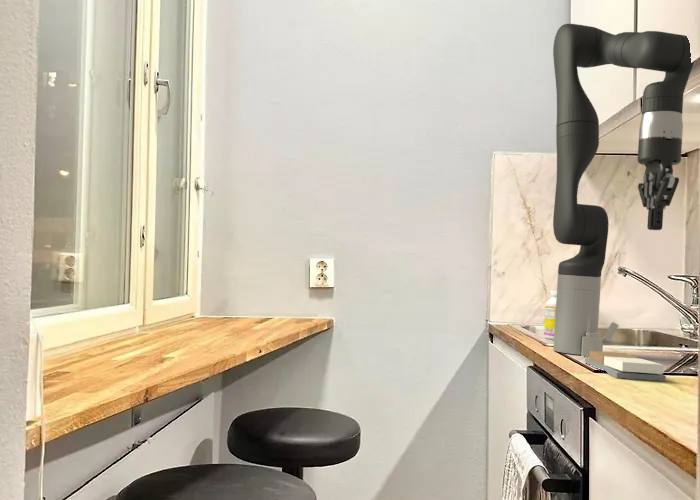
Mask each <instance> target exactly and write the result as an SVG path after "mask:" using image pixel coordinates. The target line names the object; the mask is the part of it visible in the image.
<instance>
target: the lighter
mask: <svg viewBox="0 0 700 500" xmlns="http://www.w3.org/2000/svg"><path fill="white" fill-rule="evenodd" d="M619 327H620V326H619V324H617V323H616V322H614V321H612V322H611V323H610V325H609V327H608V328H607V330H606V331H605V333H604V335H603V337H599V332H598V333H587V334H586V337H584V336H582V350H581V355H580V357H581V356H585V357H589V355H590V351H601V352H603V350H604V349H603V348H604V347H603V346H604V341H606V342H608V343H609V342H611V339H612V338H613V337H614V335H615V333H616V331H617V329H618V328H619ZM585 357H584V358H585Z"/></svg>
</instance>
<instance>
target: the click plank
mask: <svg viewBox="0 0 700 500" xmlns="http://www.w3.org/2000/svg"><path fill="white" fill-rule="evenodd" d="M637 358H638V357H637ZM637 358H622V357H607V356H604V365H606V366H608V367H611V368H614V369H617V370H620V371H626V372H640V373H655V374H662V375H664V364H662V363H658V362H654V361H651V360H647V359H644V358H640V359H637Z"/></svg>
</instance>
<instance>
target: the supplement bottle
mask: <svg viewBox="0 0 700 500" xmlns="http://www.w3.org/2000/svg"><path fill="white" fill-rule="evenodd" d="M549 295H550V299H548V300H547V301H545V308H544V309H545V310H544V312H545V313H544V328H543V329H544V331H543V332H544V333H543V336H544V338H545V339H546V340H553V341H554V330H555V314H556V299H557V289H556V290H551V289H550V293H549Z"/></svg>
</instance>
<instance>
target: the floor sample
mask: <svg viewBox="0 0 700 500" xmlns="http://www.w3.org/2000/svg"><path fill="white" fill-rule="evenodd" d="M604 356H607V357H622V358H637V359H641V358H640V357H638V356H634V355H632V354H629V353H626V352H613V351H602V352H601V351H590V355H589V358H585V357H584V363H585V362H586V363H588V364H590V365H592V366H595V367H597V368H600V369H603V370H605V371H606V372H607V373H608V374H607V375H609V376H611V377H613V378H615V379H621V378H626V379H625V380H635V379H646V380H645V381H650V380H658V381H657V382H664V381H665V382H666V378H667V377H666V376H667V375H665V374H655V373H640V372H626V371H620V370H617V369H614V368H611V367H608V366H606V365H604ZM659 380H660V381H659Z"/></svg>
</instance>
